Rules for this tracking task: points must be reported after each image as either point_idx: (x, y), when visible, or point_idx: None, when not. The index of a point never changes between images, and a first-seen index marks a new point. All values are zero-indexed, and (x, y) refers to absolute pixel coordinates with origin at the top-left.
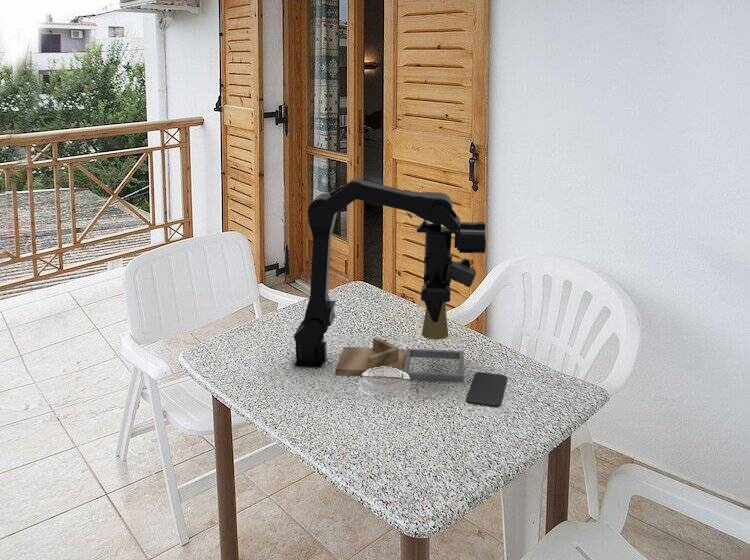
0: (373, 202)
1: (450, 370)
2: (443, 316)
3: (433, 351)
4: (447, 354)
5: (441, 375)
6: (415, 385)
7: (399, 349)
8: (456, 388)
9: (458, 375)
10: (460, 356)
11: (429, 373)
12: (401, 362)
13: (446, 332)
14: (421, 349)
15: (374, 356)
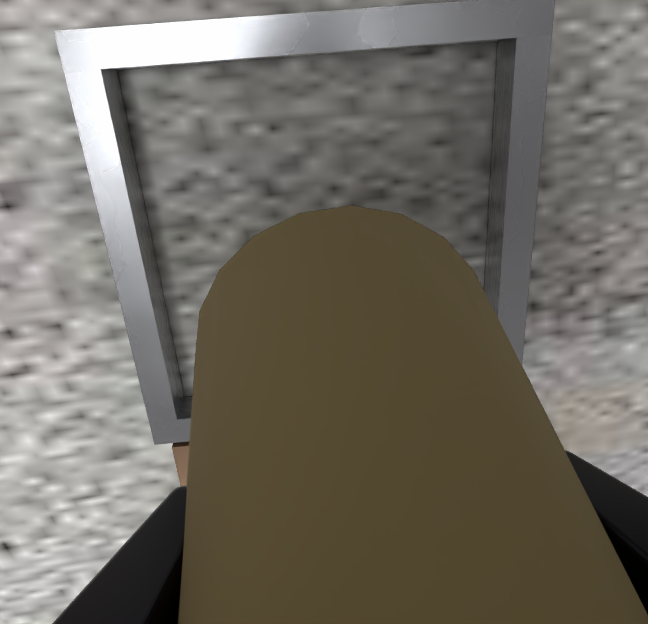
0: None
1: (341, 121)
2: (527, 417)
3: (144, 277)
4: (128, 168)
5: (536, 177)
6: (573, 314)
7: (182, 478)
8: (620, 53)
9: (538, 44)
10: (175, 52)
11: (512, 261)
12: None
13: (415, 241)
14: (138, 359)
15: None
